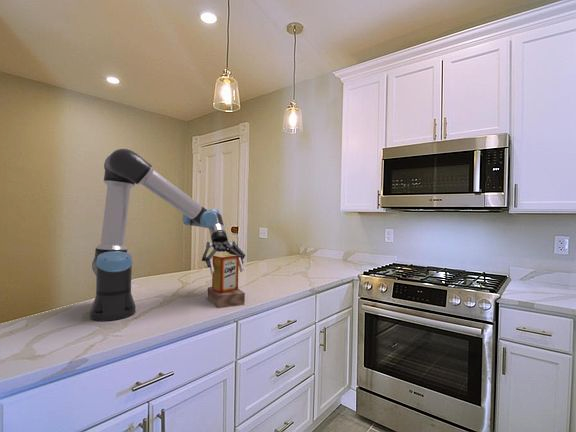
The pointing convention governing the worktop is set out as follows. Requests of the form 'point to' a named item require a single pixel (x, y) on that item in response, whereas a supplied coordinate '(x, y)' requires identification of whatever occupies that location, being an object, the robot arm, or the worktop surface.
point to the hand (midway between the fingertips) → (227, 271)
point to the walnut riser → (226, 298)
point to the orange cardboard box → (225, 273)
